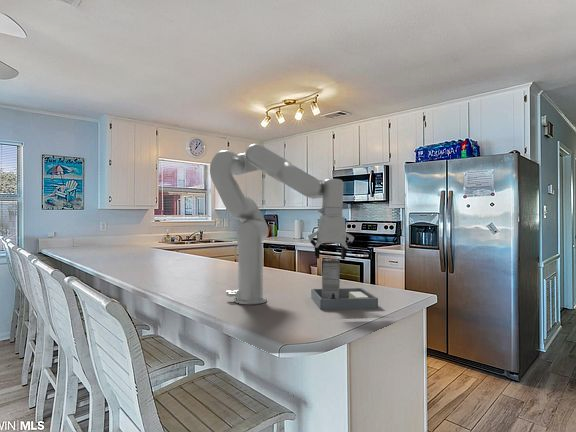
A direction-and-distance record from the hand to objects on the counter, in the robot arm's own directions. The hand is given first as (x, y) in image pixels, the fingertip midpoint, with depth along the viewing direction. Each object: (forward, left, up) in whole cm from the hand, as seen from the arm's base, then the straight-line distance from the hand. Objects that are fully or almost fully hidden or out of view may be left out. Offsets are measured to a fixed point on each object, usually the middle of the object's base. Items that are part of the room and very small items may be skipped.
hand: (330, 258), depth 135 cm
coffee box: (0, 0, -17) cm, 17 cm away
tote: (+5, 0, -17) cm, 18 cm away
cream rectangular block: (+11, 0, -16) cm, 20 cm away
